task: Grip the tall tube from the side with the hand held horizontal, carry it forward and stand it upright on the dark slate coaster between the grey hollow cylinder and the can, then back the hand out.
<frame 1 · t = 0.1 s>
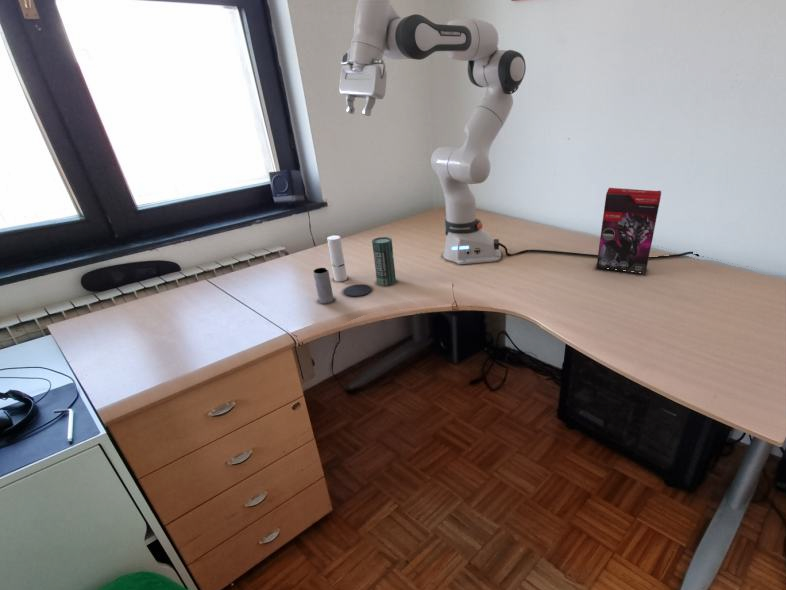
hand: (358, 114, 130), 52 cm above the table, tool tilted 20°, fingers open, 8 cm apart
slate coaster: (357, 290, 152), on the table
graphics card box: (620, 269, 163), on the table
grey hollow cylinder: (326, 300, 146), on the table
tube: (340, 279, 160), on the table
can: (386, 282, 157), on the table
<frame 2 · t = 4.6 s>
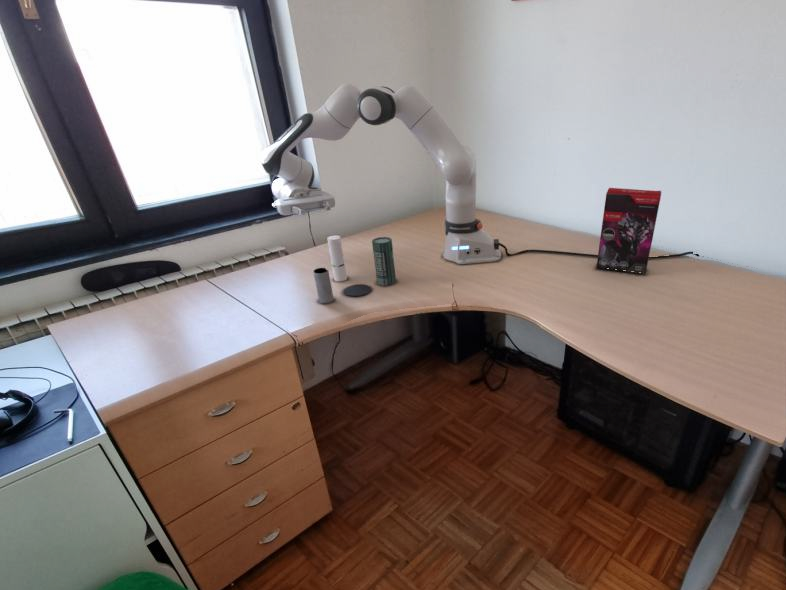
hand: (315, 210, 156), 22 cm above the table, tool horizontal, fingers open, 8 cm apart
nothing on the table moved.
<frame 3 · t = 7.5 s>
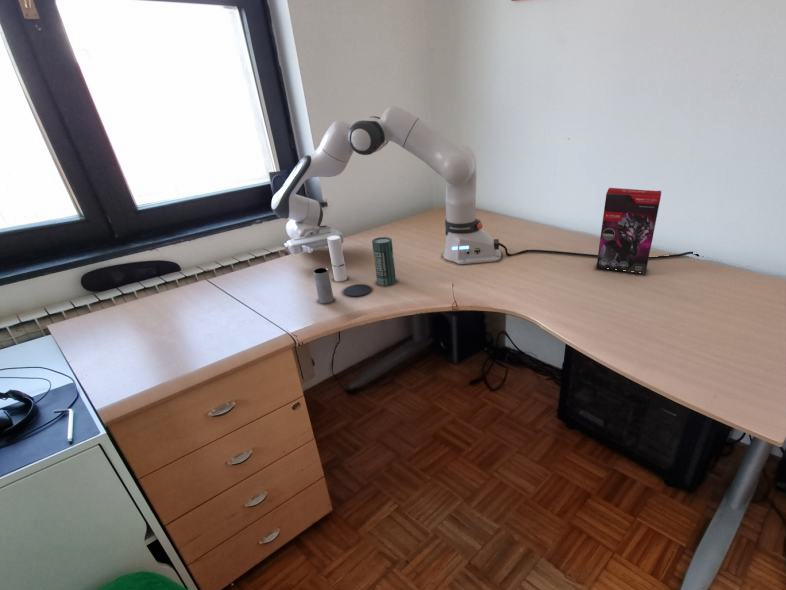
hand: (324, 247, 163), 9 cm above the table, tool horizontal, fingers open, 8 cm apart
nothing on the table moved.
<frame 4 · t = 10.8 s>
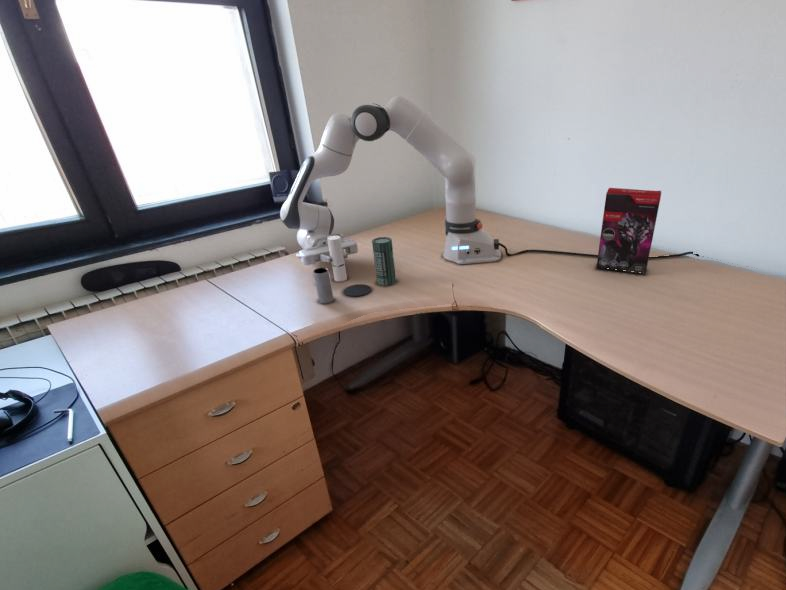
hand: (338, 258, 156), 8 cm above the table, tool horizontal, fingers closed on tube, 4 cm apart
tube: (340, 279, 160), on the table, touching gripper
everything else where it was.
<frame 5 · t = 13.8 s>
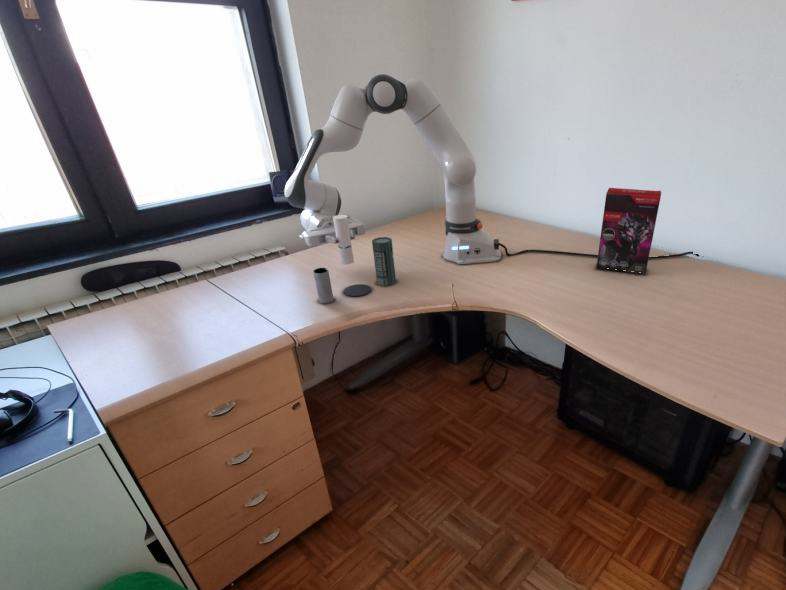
hand: (344, 239, 146), 17 cm above the table, tool horizontal, fingers closed on tube, 4 cm apart
tube: (347, 262, 151), point 9 cm above the table, touching gripper
everything else where it was.
when the fingers open (8 cm above the table, at t = 17.3 s): tube stays where it is, resting on slate coaster.
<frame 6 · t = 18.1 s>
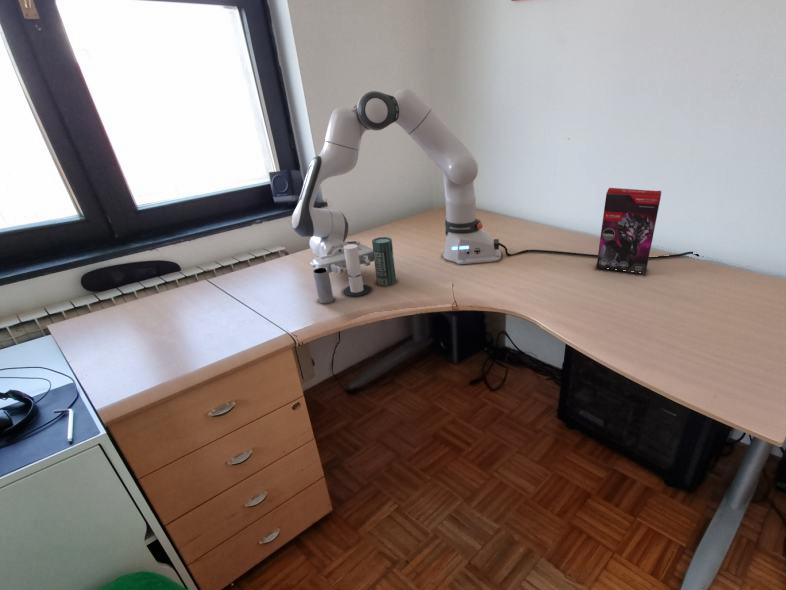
hand: (355, 266, 146), 9 cm above the table, tool horizontal, fingers open, 8 cm apart
tube: (357, 290, 151), resting on slate coaster
everything else where it was.
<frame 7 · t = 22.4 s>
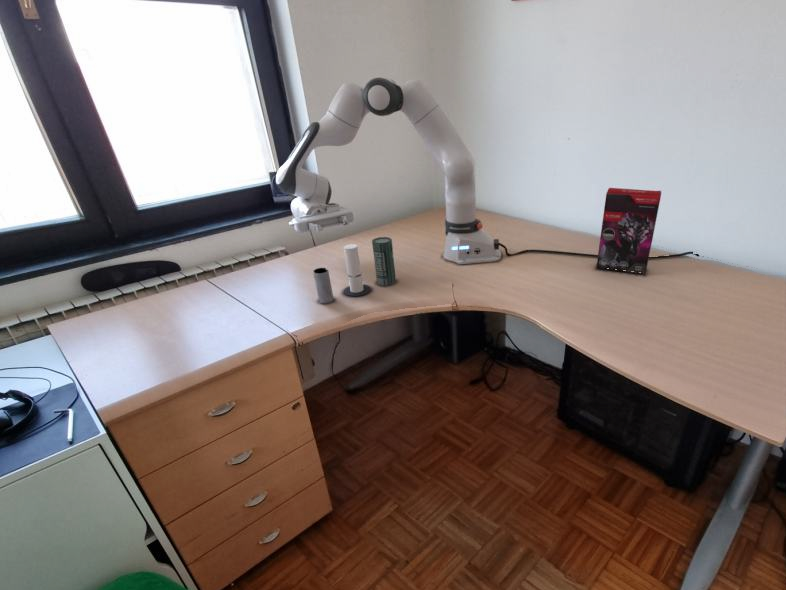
hand: (333, 225, 150), 19 cm above the table, tool horizontal, fingers open, 8 cm apart
nothing on the table moved.
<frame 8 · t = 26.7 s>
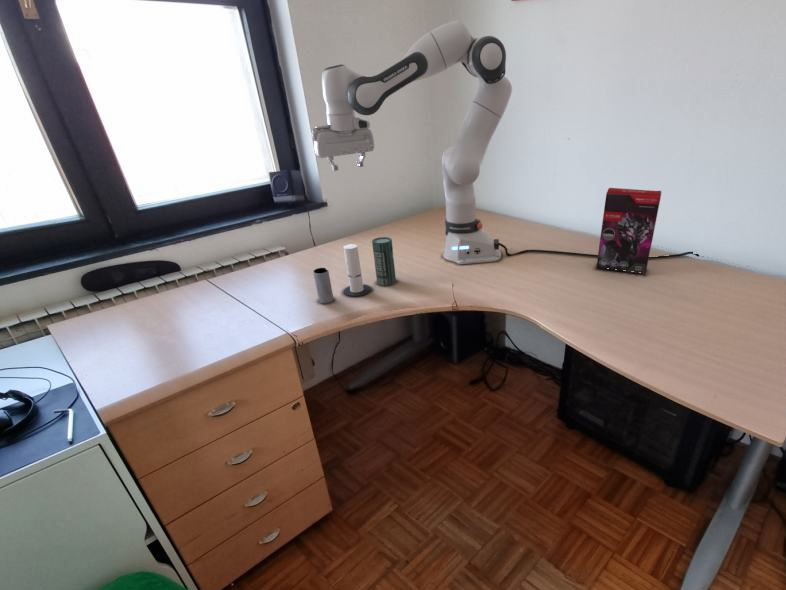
hand: (348, 168, 155), 34 cm above the table, tool pointing down, fingers open, 8 cm apart
nothing on the table moved.
at the end: tube 10.9 cm from the grey hollow cylinder (horizontally); tube 11.2 cm from the can (horizontally); tube tilted 0° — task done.
